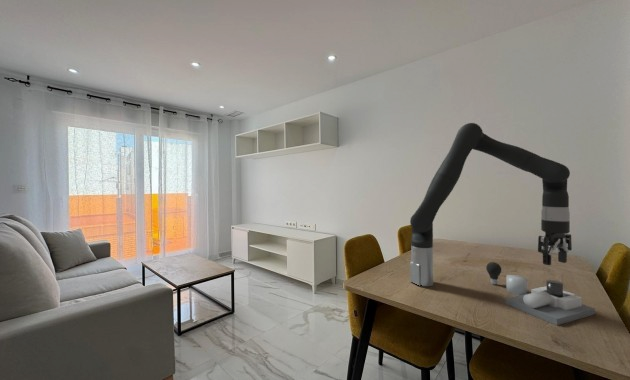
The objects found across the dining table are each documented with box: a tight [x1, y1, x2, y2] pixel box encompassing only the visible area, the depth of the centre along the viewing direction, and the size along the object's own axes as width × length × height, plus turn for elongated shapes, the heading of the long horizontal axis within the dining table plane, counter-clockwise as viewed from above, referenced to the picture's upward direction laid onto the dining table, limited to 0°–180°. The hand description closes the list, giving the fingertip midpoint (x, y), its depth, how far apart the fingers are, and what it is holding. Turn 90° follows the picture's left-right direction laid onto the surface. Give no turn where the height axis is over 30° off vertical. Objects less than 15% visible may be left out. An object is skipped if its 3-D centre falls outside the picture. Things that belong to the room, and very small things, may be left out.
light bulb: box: [485, 261, 502, 286], centre depth 115 cm, size 6×6×10 cm
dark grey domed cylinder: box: [545, 279, 564, 298], centre depth 93 cm, size 4×4×7 cm
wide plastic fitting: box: [505, 274, 528, 296], centre depth 107 cm, size 7×7×6 cm
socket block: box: [505, 285, 596, 326], centre depth 92 cm, size 20×16×6 cm
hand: (554, 263), depth 93 cm, fingers open, 8 cm apart
